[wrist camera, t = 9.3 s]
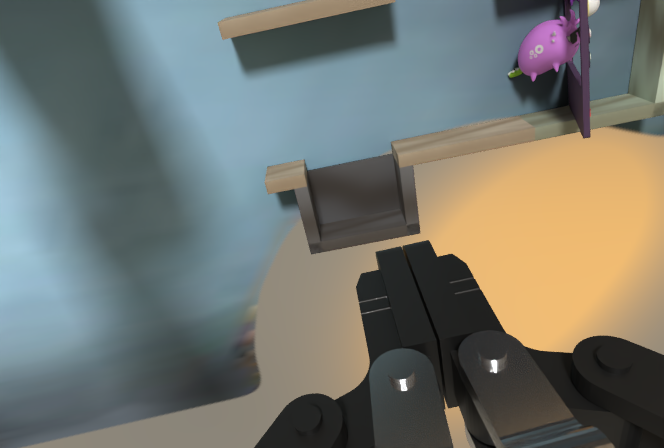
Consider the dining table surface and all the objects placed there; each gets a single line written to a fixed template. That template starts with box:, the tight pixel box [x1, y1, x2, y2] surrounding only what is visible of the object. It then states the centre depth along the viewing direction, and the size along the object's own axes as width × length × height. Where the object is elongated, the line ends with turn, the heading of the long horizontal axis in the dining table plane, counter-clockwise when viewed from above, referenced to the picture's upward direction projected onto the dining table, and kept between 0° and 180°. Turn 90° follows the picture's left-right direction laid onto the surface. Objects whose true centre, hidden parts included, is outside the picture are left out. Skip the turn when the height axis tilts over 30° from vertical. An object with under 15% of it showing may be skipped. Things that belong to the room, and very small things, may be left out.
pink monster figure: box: [508, 0, 600, 138], centre depth 30 cm, size 7×5×9 cm
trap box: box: [218, 0, 664, 254], centre depth 31 cm, size 24×30×3 cm
